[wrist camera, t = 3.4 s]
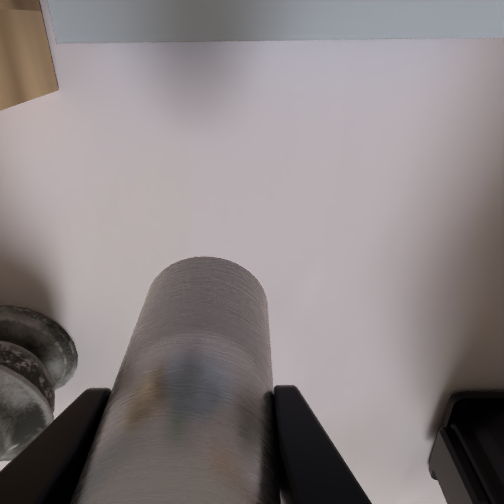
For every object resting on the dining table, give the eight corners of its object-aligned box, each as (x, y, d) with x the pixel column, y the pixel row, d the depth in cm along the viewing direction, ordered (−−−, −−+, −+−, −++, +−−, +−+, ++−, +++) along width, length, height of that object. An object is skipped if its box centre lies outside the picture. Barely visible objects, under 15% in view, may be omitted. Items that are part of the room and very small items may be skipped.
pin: (268, 255, 10) (319, 873, 3) (267, 353, 11) (298, 921, 4) (138, 257, 10) (-153, 880, 3) (154, 355, 11) (-6, 924, 4)
